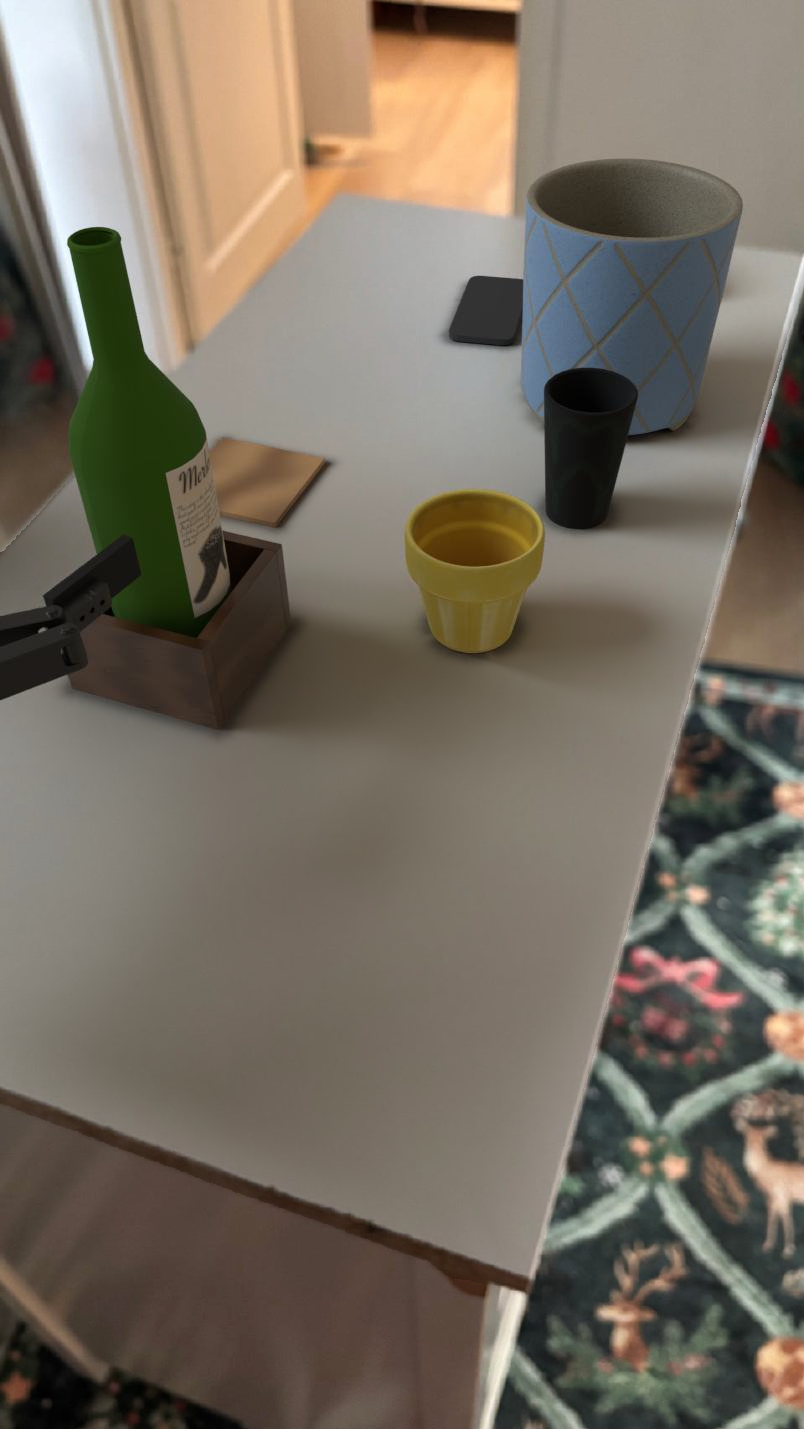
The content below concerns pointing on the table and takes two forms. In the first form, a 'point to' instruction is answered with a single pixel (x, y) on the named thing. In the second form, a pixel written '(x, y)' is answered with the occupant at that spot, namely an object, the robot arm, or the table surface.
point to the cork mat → (259, 480)
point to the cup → (584, 443)
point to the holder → (194, 645)
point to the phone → (489, 311)
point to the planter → (626, 279)
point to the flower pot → (473, 564)
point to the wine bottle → (143, 456)
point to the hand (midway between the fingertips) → (50, 519)
